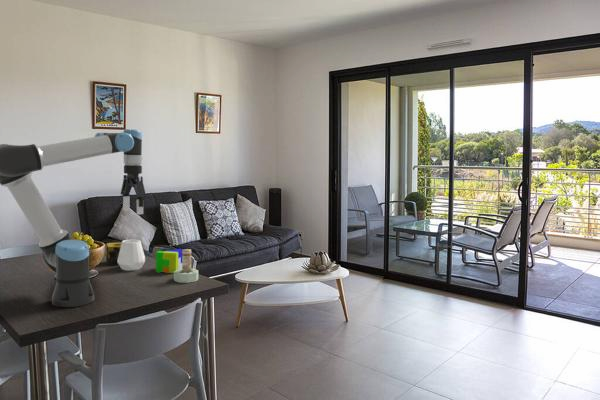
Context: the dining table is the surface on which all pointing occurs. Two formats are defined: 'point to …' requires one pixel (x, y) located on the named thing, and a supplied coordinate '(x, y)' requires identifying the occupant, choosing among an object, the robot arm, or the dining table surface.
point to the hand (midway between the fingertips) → (133, 212)
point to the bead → (185, 276)
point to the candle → (112, 253)
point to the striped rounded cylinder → (186, 261)
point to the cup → (131, 255)
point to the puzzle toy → (168, 260)
